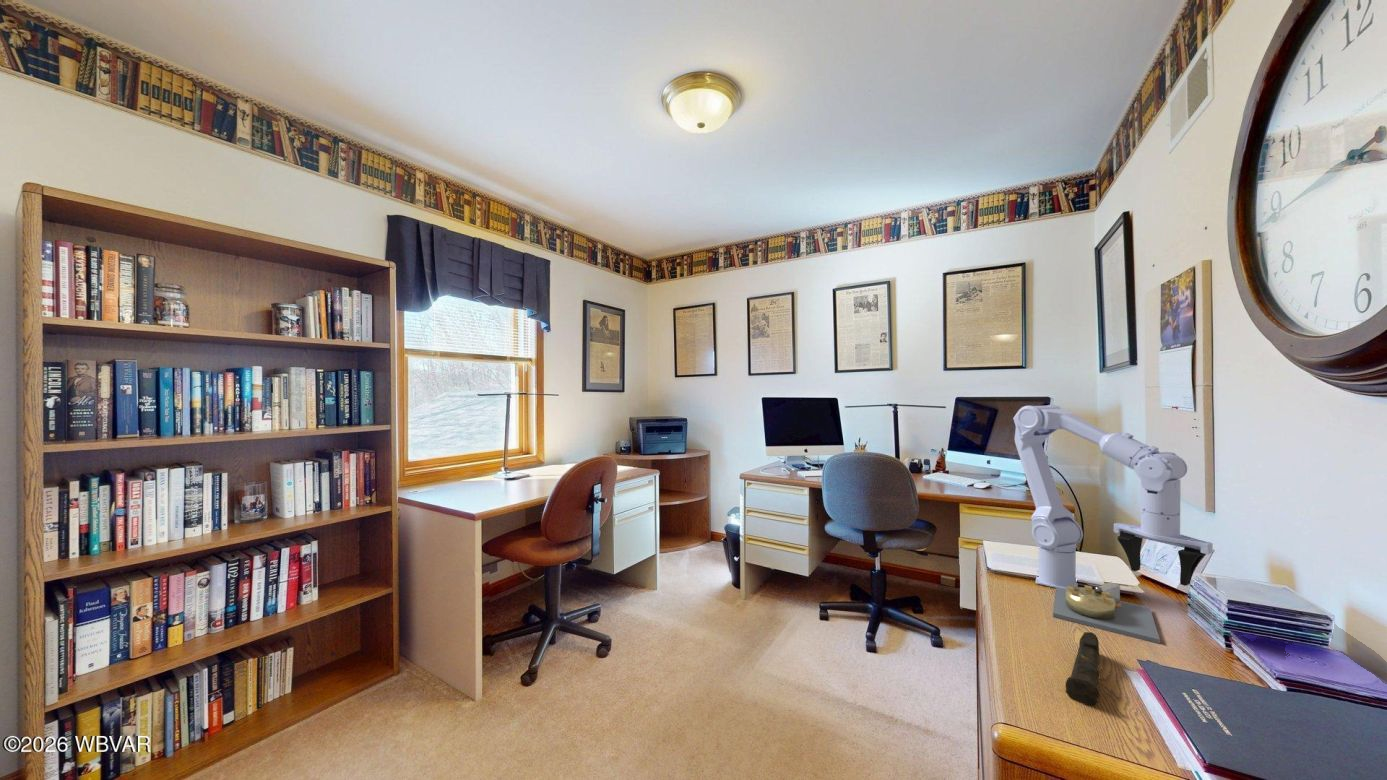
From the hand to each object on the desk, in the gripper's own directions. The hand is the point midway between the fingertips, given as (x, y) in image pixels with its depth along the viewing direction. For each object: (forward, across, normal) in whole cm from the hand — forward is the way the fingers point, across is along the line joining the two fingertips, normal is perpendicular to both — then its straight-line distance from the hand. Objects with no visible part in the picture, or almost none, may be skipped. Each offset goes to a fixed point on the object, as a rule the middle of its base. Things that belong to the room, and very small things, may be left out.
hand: (1159, 576), depth 95 cm
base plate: (+9, +7, +6) cm, 13 cm away
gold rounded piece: (+8, +8, +6) cm, 13 cm away
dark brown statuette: (+10, -3, +34) cm, 36 cm away
